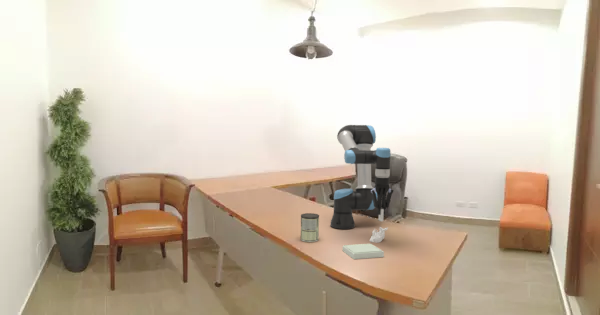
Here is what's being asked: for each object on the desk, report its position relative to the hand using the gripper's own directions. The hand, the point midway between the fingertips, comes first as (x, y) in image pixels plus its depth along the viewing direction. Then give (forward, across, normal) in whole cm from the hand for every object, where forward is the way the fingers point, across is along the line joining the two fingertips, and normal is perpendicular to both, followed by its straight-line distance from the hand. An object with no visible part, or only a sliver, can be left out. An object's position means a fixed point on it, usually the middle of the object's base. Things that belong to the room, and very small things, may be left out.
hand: (380, 220), depth 215 cm
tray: (+14, -15, -10) cm, 23 cm away
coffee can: (+14, -33, +21) cm, 42 cm away
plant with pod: (+15, +24, +72) cm, 77 cm away
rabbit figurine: (+14, +3, +6) cm, 16 cm away
